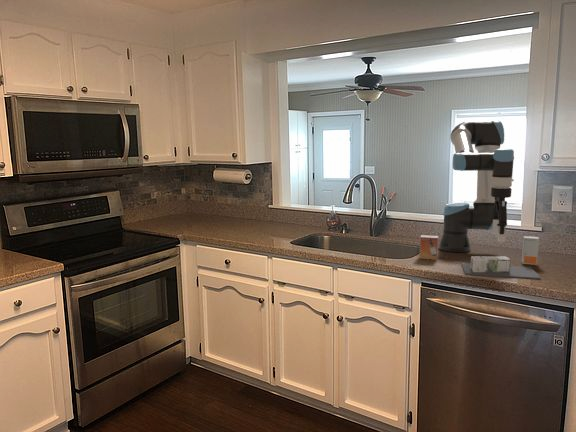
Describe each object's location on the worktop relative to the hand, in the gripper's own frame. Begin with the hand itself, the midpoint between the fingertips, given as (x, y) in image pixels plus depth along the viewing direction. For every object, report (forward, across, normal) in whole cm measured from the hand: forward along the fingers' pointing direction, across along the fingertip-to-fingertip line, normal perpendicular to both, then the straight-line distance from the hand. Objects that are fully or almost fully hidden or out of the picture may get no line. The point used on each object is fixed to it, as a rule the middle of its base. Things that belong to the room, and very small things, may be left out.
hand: (498, 238), depth 194 cm
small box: (+15, +16, +27) cm, 35 cm away
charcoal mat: (+14, -1, -1) cm, 14 cm away
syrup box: (+11, -1, -4) cm, 12 cm away
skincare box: (+15, +16, -16) cm, 27 cm away
